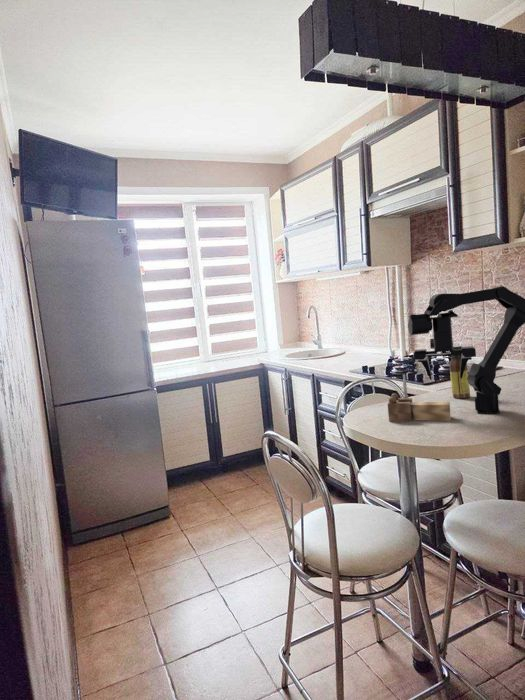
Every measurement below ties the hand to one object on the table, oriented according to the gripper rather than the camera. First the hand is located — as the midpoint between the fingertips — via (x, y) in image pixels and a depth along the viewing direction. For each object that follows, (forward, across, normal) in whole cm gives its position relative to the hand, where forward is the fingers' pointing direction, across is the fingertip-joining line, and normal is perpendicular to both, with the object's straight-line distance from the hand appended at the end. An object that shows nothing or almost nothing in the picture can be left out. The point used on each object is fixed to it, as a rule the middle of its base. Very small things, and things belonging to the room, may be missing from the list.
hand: (445, 379), depth 144 cm
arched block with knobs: (+12, +14, +5) cm, 19 cm away
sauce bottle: (+12, -4, -26) cm, 29 cm away
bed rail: (+12, +6, +5) cm, 14 cm away
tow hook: (+12, +15, -11) cm, 22 cm away
